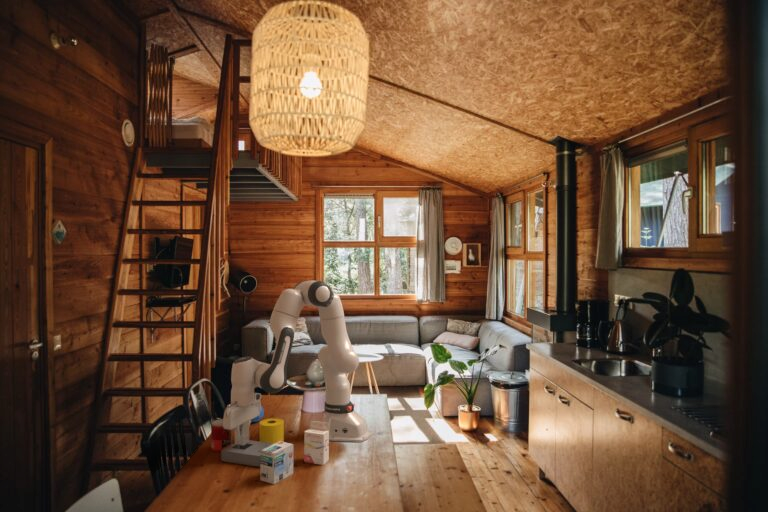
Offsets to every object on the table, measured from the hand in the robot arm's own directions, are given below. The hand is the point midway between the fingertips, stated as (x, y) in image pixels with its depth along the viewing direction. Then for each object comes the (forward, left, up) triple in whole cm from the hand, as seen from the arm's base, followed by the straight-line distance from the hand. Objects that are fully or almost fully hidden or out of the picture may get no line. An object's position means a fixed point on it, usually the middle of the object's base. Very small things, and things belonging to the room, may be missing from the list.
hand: (242, 433), depth 192 cm
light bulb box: (-23, +12, -9) cm, 28 cm away
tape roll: (-4, -15, -9) cm, 18 cm away
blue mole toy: (+21, -37, -9) cm, 44 cm away
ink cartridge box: (-30, -5, -9) cm, 32 cm away
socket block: (-5, 0, -9) cm, 10 cm away
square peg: (0, 0, -4) cm, 4 cm away
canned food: (+13, -4, -9) cm, 16 cm away
